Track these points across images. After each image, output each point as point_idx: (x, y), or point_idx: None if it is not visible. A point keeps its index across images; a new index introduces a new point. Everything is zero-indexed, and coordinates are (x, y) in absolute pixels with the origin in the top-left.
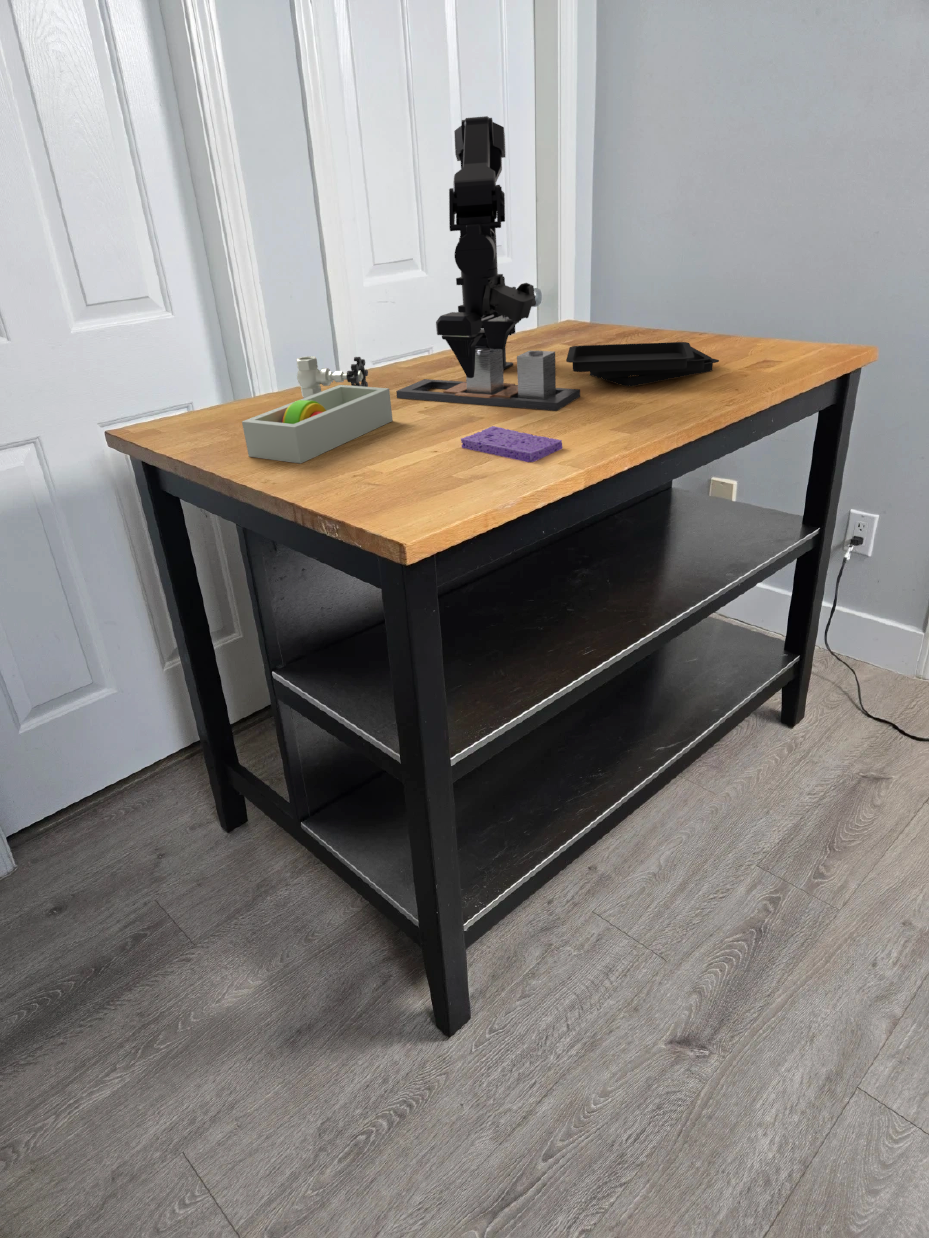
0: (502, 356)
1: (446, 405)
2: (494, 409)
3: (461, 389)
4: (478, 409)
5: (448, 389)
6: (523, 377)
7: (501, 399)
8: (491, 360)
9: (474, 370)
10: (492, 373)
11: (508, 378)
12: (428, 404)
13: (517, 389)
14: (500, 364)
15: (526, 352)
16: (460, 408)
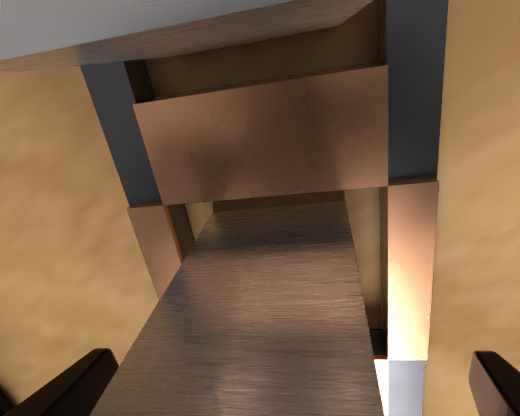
0: (119, 367)
1: (465, 341)
2: (497, 92)
3: None
4: (513, 178)
5: None
6: None
7: (438, 95)
8: (326, 378)
9: (507, 389)
10: (321, 291)
11: (12, 324)
12: (464, 400)
13: (217, 124)
14: (183, 321)
15: (4, 28)
16: (508, 268)
